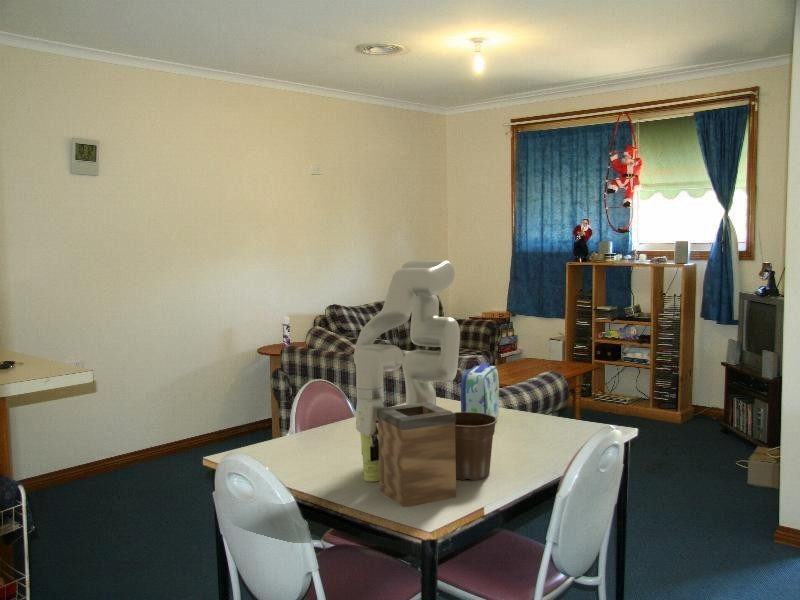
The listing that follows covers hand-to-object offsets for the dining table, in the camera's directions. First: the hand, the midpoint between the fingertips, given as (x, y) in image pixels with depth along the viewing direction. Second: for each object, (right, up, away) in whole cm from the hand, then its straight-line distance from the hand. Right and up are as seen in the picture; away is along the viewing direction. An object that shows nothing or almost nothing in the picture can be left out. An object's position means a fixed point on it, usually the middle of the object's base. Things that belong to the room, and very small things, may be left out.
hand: (371, 456), depth 206 cm
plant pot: (+27, -6, +4) cm, 28 cm away
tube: (0, -7, +1) cm, 7 cm away
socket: (+12, -7, -11) cm, 18 cm away
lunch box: (+37, -1, +60) cm, 71 cm away
